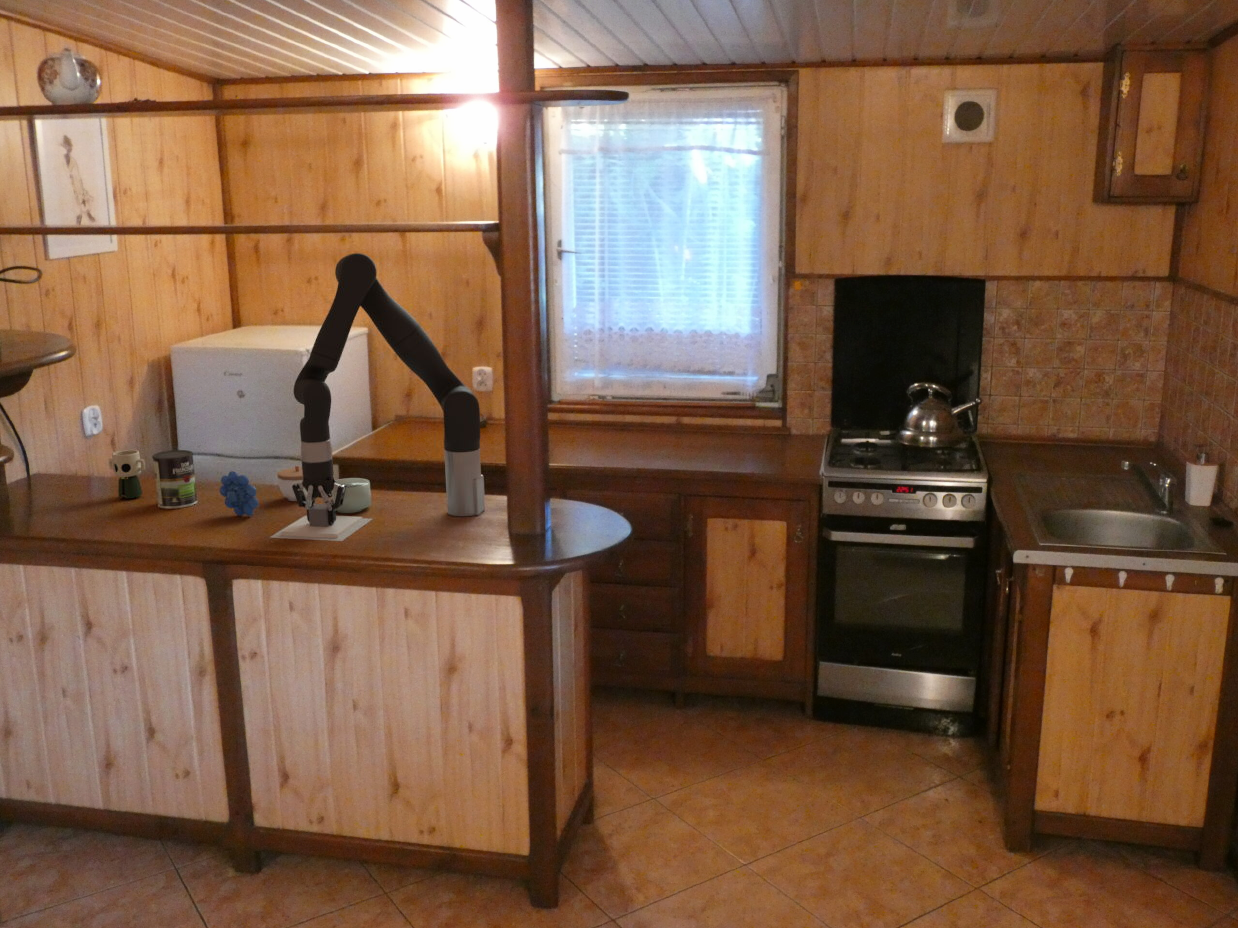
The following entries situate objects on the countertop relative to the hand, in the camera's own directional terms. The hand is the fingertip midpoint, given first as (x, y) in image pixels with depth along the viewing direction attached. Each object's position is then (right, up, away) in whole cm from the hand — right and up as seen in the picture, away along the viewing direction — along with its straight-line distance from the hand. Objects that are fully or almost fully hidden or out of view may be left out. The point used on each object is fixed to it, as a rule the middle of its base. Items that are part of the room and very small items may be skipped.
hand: (322, 523), depth 282 cm
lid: (0, -1, 0) cm, 1 cm away
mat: (0, -1, 0) cm, 2 cm away
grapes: (-25, +1, +12) cm, 28 cm away
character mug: (-62, +5, +32) cm, 70 cm away
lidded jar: (-14, +5, +29) cm, 32 cm away
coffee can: (-46, +4, +25) cm, 53 cm away
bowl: (+3, +3, +17) cm, 17 cm away
